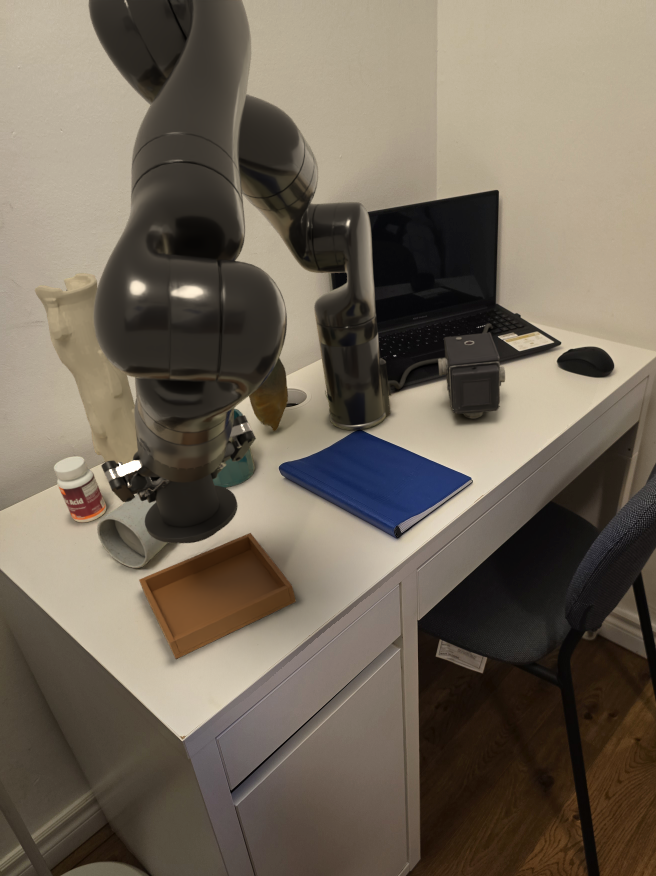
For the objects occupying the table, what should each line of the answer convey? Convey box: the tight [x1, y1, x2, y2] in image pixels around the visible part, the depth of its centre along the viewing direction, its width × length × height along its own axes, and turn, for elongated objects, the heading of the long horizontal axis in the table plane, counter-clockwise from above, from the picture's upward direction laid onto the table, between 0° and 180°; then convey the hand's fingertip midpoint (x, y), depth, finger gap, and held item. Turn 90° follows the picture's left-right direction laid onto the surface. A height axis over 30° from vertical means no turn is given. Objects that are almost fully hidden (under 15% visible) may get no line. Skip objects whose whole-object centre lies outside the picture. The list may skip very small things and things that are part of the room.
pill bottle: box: [53, 455, 107, 523], centre depth 91 cm, size 5×5×8 cm
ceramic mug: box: [96, 494, 169, 569], centre depth 84 cm, size 11×8×8 cm
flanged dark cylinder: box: [145, 474, 239, 544], centre depth 68 cm, size 10×10×9 cm
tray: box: [138, 532, 297, 660], centre depth 76 cm, size 14×12×2 cm
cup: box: [213, 408, 256, 488], centre depth 96 cm, size 8×8×9 cm
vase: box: [34, 272, 138, 465], centre depth 94 cm, size 9×8×30 cm
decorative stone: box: [248, 357, 289, 432], centre depth 104 cm, size 10×6×15 cm, turn 166°
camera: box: [437, 331, 506, 419], centre depth 105 cm, size 11×11×15 cm
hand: (178, 481), depth 69 cm, fingers closed on flanged dark cylinder, 6 cm apart
